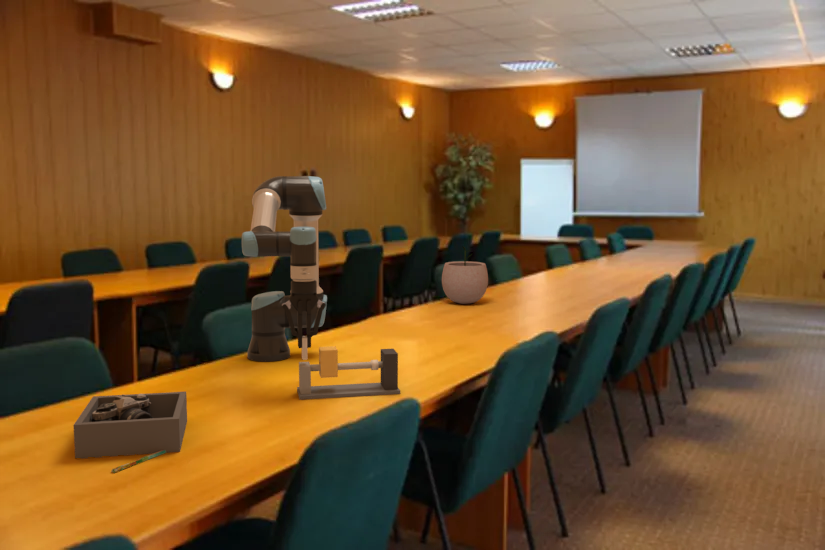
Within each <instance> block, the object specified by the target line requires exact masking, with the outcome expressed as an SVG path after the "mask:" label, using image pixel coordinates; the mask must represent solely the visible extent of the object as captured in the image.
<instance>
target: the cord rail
mask: <svg viewBox="0 0 825 550" xmlns="http://www.w3.org/2000/svg"><path fill="white" fill-rule="evenodd" d="M362 369H364V370H368V369H369V370H371V371H378V370H379V369H380V382H366V383H350V384H349V383H348V384H347V383H346V384H331V385H330V384H329V385H312V376H311V375H312V372H319V371H321V365H320V364H319V363H317V364H311V363H310V361H299V362H298V380H299V381H298V386H297V387H296V390H297V395H298V400H319V399H334V398H336V399H337V398H351V397H368V396H370V397H371V396H385V395H386V396H388V395H389V396H390V395H401V390H400V388H399V384H398V383H399V382H398V381H399V376H398V375H399V353H398V352H397V350H395V349H394V348H380V361H379V360H378V359H370V361H360V362H359V361H357V362H342V363H341V362H339V363H338V371H345V370H347V371H348V370H362Z"/></svg>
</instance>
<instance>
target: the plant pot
mask: <svg viewBox="0 0 825 550" xmlns="http://www.w3.org/2000/svg"><path fill="white" fill-rule="evenodd" d="M462 248H463V250H464V261H448V262H445V263H444V265H443V269H442V274H441V287H442V290H443V292H444V294H445V296H446V297H447V298H448V299H449V300H450V301H452V302H453V303H456V304H462V305H471V304H474V303H476V302H478V301H480V300H481V299H482V298H483V297H484V295H485V294H486V292H487V289H488V286H489V274H488V268H487V265H486V263H485V262H480V261H468V259H469V257H471V256H472V255H473V253H471V254H469V255H468V256H467V252H468V253H469V252H470V251H472V250H471V249H469V250H468V249H466V247H465V246H464V245H462Z"/></svg>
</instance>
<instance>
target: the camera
mask: <svg viewBox="0 0 825 550" xmlns="http://www.w3.org/2000/svg"><path fill="white" fill-rule="evenodd" d="M137 394H138V395H137V397H136V398H135V399H133V398H131V397H127V395H128V394H121V395H122V396H120V397H119V396H116V398H115V400H114V401H113V402H112V403H104V404H101V405H100V406H99V407H98V408H97V411H94V412H93V413H92V422H100V421H117V420H134V419H150V418H153V417H152V416H151V415H150V406H149V405H151V402H149V398H148V397H147V396H146V395H145V394H146V393H137Z"/></svg>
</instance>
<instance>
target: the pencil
mask: <svg viewBox="0 0 825 550" xmlns="http://www.w3.org/2000/svg"><path fill="white" fill-rule="evenodd" d="M164 454H167V453H166V451H165V450H161V451H158V452H156V453H153V454H147V455H145V456H143V457H140V458H138V459H135V460H132V461H130V462H128V463H125V464H122V465H120V466H117V467H114V468H112V469H111V473H112V472H113V473H112V474H116V473H119V472H121V471H124V470H126V469H129V468H131V467H134V466H137V465H139V464H141V463H143V462H147V461H148V460H151V459H154V458H157V457H159V456H161V455H164ZM138 463H139V464H138ZM133 465H134V466H133ZM130 466H131V467H130ZM128 467H129V468H128ZM123 469H124V470H123ZM118 471H119V472H118Z"/></svg>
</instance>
